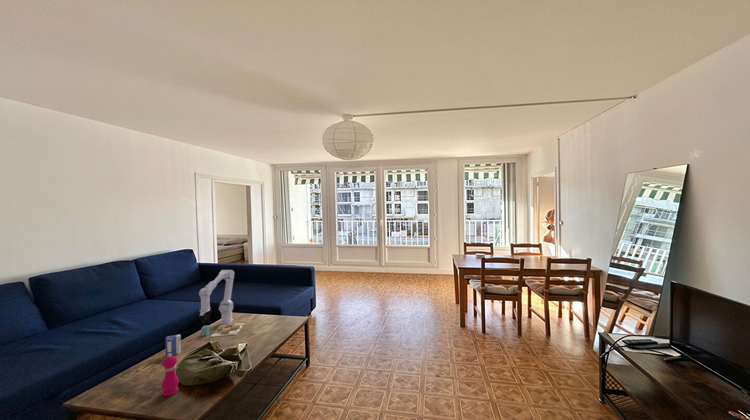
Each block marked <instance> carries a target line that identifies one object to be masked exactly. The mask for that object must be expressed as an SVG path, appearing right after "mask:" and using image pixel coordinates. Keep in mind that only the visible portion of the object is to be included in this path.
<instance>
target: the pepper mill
mask: <svg viewBox="0 0 750 420" xmlns="http://www.w3.org/2000/svg"><path fill="white" fill-rule="evenodd" d="M177 362H178V358H177V357H176V356H175V355H172V354H168V356H166V358H164V359H163V361H162V367H163V372H164V378H163V381H162V382H161V389H162V396H163V397H171V396H173V395H174V394H176V393H177V392H178V391H179V387H178V385H179V383H180V382H179V377H178V376H177V375H176V370H175V369H176V368H177V365H176V364H177Z"/></svg>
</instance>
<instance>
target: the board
mask: <svg viewBox="0 0 750 420" xmlns="http://www.w3.org/2000/svg"><path fill="white" fill-rule="evenodd" d="M243 326H245V322H243V323H241V322H240V323H236V322H235V321H232V322H231V323H228V324H221V325H218V327H217V328H216V330H215V331H214V332H213V333H212V334H211V336H210V338H214V337H215V338H217V337H225V336H237V335H238V334H239V333H240V331H241V330H242V328H243Z"/></svg>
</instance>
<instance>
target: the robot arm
mask: <svg viewBox="0 0 750 420" xmlns="http://www.w3.org/2000/svg"><path fill="white" fill-rule="evenodd" d="M234 279H235V271H234V270H233V269H221V270H220V272H218V275H217V276H216V277H215V278H214V280H212V281H210V282H208V284H207V285H205V286H204V287H203V288H201V289H199V293H198V296H199V298H200V309H199V310H198V311H199V312H200V313H199V314H198V315H197V316H198V318H199V320H200V323H201V325H205V324H206V322H207V321H209V320H210V317H211V314H212V312H213V310H212V309H211V306H210V305H211V304H210V302H211V301H210V300H211V299H210V298H211V294H212V292H213V290H214V289H215V288H217V285H218V283H219V282H221V281H222V280H225V286H224V287H225V288H224V295H223V300H221V302H220V303H219V307H218V311H219V312H220V315H221V322H220V323H219V326H221V325H227V324H228V323H233V322H234V318H233V310H234V302H233V301H232V300H231V299H232V292H233V284H234Z"/></svg>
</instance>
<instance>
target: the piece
mask: <svg viewBox="0 0 750 420" xmlns="http://www.w3.org/2000/svg"><path fill="white" fill-rule="evenodd" d="M200 329H201V337H205V336H204V335H206V336H208V335H209V334H210V332H211V331H210V324H209V325H208V324H207V325H203V326H202V327H201V328H200Z"/></svg>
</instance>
